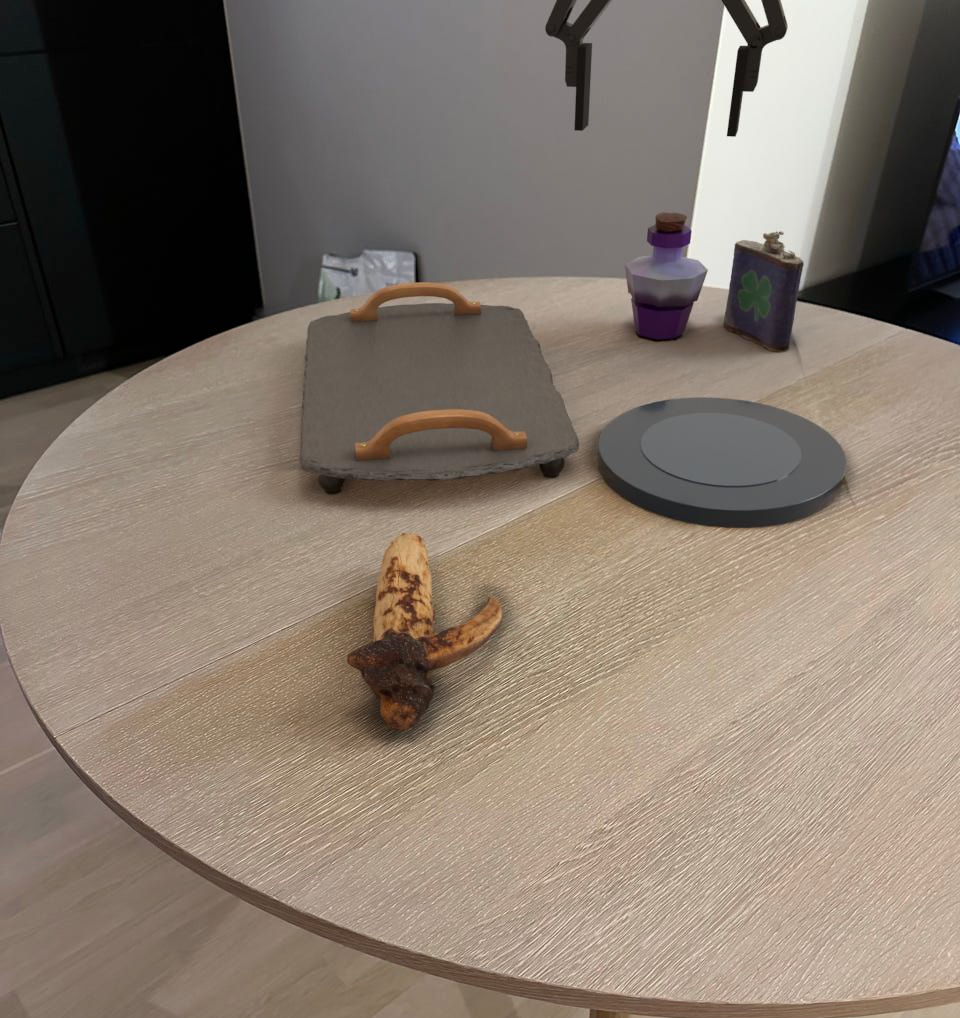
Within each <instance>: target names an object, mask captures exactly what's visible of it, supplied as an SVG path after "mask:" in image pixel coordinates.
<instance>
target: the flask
mask: <svg viewBox="0 0 960 1018" xmlns="http://www.w3.org/2000/svg"><path fill="white" fill-rule="evenodd" d="M784 234H785V232H784V231H781V230H780V231H775V232H769V233H765V232H764V233H762V238H763V239H764V240H765V241H764V243H762V242H761V243H760V242H758V241H754V240H747V239H742V240H738V241H736V242H735V243H734V248H733V259H732V266H731V272H730V281H729V284H728V285H729V287H728V294H727V300H726V306H725V312H724V317H723V326H724V328H725V329H726V330H728V331H729V332H731V333H735V334H738V336H740V337H742V338H743V339H746V340H751V341H754V343H756V344H759V345H760V346H761V347H764V348H766V349H767V350H769V351H773V352H779V353H783V352H787V351H788V350H790V345H791V344H790V343H791V338H792V332H793V331H792V330H793V325H794V322H795V313H796V307H797V301H798V297H799V290H800V285H801V281H802V280H801V279H802V274H803V268H804V264H805V263H804V260H803V259H802V257H799V256H797V255H796V253H795V252H794V251H792V250H788V251H786V250H785V247H786V245H785V244H784V242H781V241H779V239H780V236H782V235H783V236H784Z"/></svg>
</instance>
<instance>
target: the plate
mask: <svg viewBox="0 0 960 1018" xmlns="http://www.w3.org/2000/svg"><path fill="white" fill-rule="evenodd" d="M844 451H845V450H843V447H842V446H841V444H840V442H838V440H836V438H835V437H833V436H832V435H831V433H829V432H828V431H827V430H826V429H824V428H823V427H821V426H820V425H818V424H817V423H815V422H812V421H811V420H809V419H807V418H805V417H803V416H801V415H799V414H796V413H794V412H790V411H788V410H785V409H782V408H779V407H775V406H772V405H768V404H764V403H759V402H755V401H749V400H744V399H736V398H735V399H734V398H729V397H728V398H727V397H710V396H709V397H705V396H704V397H703V396H702V397H700V396H699V397H697V396H695V397H680V398H679V397H678V398H670V399H664V400H659V401H653V402H650V403H646V404H642V405H640V406H636V407H634V408H631V409H629V410H627V411H624V412H622V413H621V414H619V415H617V416H616V417H614V418H613V419H612V420H611V421H610V422H608V423H607V424H606V425H605V427H604V428H603V429H602V431H601V433H600V435H599V437H598V444H597V457H596V463H597V469H598V471H599V474H600V476H601V478H602V480H603V481H604V482H605V484H606V485H607V486H608V487H609V488H610V489H611V490H612V491H613V492H614V493H615V494H617V495H618V496H619V497H621V498H622V499H624V500H625V501H627V502H629V503H631V504H632V505H634V506H636V507H638V508H640V509H642V510H644V511H646V512H649V513H652V514H654V515H657V516H659V517H663V518H666V519H670V520H673V521H677V522H682V523H686V524H691V525H696V526H697V525H698V526H703V527H704V526H705V527H712V528H722V529H754V528H766V527H774V526H780V525H785V524H789V523H794V522H797V521H799V520H802V519H805V518H808V517H810V516H812V515H815V514H817V513H819V512H820V511H821V510H823V509H825V508H827V507H828V506H829V505H831V503H832V502H833V501H834V500H835V499H836V497H837V496H838V495H839V494H840V491H841V489H842V486H843V483H844V482H843V481H844V479H845V475H846V470H847V458H846V454H845V452H844Z"/></svg>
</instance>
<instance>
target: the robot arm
mask: <svg viewBox="0 0 960 1018" xmlns="http://www.w3.org/2000/svg"><path fill="white" fill-rule="evenodd" d="M760 1H761V4H762V7H763V11H764V15H765V18H766V22H767V24H766V25H764V26H761V25H760V23H759V22H758V20H757V19H756V16H755V14H754V13H753V11H752V10H751V8H750V6H749V5H748V3H747V1H746V0H721V2H722V4H723V6H724V7H725V9H726V11H727V13H728V14H729V16H730V17H731V19H732V21H733V22H734V24H735V25H736V27H737V29H738V31H739V33H740V34H741V35H742V38H743V39H744V41H745V42H746V44H747V45H739V47H738V49H737V53H736V60H735V66H734V67H735V68H734V76H733V85H732V92H731V98H730V99H731V100H730V106H729V107H730V108H729V116H728V124H727V131H726V137H730V138H731V137H733V138H735V137H736V136H737V134H738V131H739V125H740V118H741V111H742V104H743V103H742V102H743V95H744V92H746V93H747V92H748V93H750V92H751V93H754V91H755V90H756V87H757V86H758V83H759V76H760V68H761V62H762V55H763V49H764V48H765V47H766V46H767V45H769V44H771V43H773V42H776V41H780V40H782V39H784V38H785V36H786V34H787V32H788V29H789V28H788V21H787V18H786V14H785V11H784V8H783V3H782V0H760ZM577 2H578V1H577V0H556V1H555V3H554V6H553V8H552V10H551V13H550V15H549V17H548V19H547V21H546V24H545V29H544V30H545V33H546V35H547V36H548V37H551V38H552V37H553V38H555V39H558V40H560V41H561V42H563V44H564V46H565V65H564V67H565V70H564V82H565V85H566V87H567V88H575V102H574V104H575V107H574V131H576V132H582V131H584V130H585V129H586V128H587V127H588V126H589V122H590V121H589V120H590V99H591V97H590V96H591V79H592V56H593V55H592V54H593V43H592V42H584V39H585V37H586V36H587V34H588V33H589V32H590V31H591V29H592V28H593V27H594V25H595V24H596V23H597V21H598V20H599V19H600V17H602V15H603V13H604V12H605V11H606V9H607V8H608V7H609V5H610V4H611V3H612V2H613V0H590V1H589V2H588V3H587V4H586V6H585V7H584V9H583V10H582V12H581V13H580V14H579V16H578V17H577V18H576V20H574V22H573V24H572V23H570V22H568V21H569V18H570V16H571V14H572V11H573V9H574V7H575V6H576V3H577Z"/></svg>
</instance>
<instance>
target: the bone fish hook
mask: <svg viewBox="0 0 960 1018" xmlns="http://www.w3.org/2000/svg"><path fill="white" fill-rule="evenodd" d="M429 563H430V562H429V555H428V549H427V548H426V544H425V540H424V539H423V537H421V536H420V535H419V534H417V533H407V532H406V533H401V534H400V535H398V536H396V537H395V538H394V539H393V540H392V541H391V543H390V545H389V546H387V548H386V550H385V551H384V553H383V558H382V561H381V563H380V571H379V574H380V575H379V577H378V581H377V584H376V593H375V607H374V612H373V620H372V625H373V641H372V643H371V644H365V645H362V646H360V647H358V648H357V649H355V650H352V651H351V652H349V653H348V654H347V657H346V659H347V660H346V662H347V665H348V666H350V667H352V668H354V669H356V670H358V671H360V675H361V676H362V678H363V680H364V682H365V683H366V684H367V685H368V687H369V688H370V690H371V691H372V692H373V694H374V696H375V698H377V699H378V700H380V706H379V711H380V715H381V717H382V719H383V720H384V722H385V724H386V725H387V726H389V727H390V728H392V729H396V730H405V729H410V728H412V729H413V728H415V727H416V726H417V725H418V724H419V723H420V721H421V717H422V716H423V715H425V714H426V712H427V711H428V710H429V708H430V704H431V702H432V700H433V698H434V694H435V691H436V688H437V686H436V684H433V680H432V678H430V673H431V671H432V670H437V669H441V668H444V667H447V666H449V665H451V664H453V663H457V662H458V661H461V660H463V659H465V658H467V657H468V656H470V655H473V653H475V652H476V651H477V650H479V649H480V648H481V647H482V646H484V645H485V644H486V643H487V642H488V641H489V640H490V638H491V637H492V636H493V635H494V634H495V633H496V632H497V630H498V629H499V627H500V625H501V624H502V620H503V615H504V614H503V613H504V612H503V609H502V605H501V604H500V601H498V600H497V598H496V597H495V596H493V595H490V596H488V599H487V602H486V605H485V606H484V608H483V609H482V610H481V611H480V612H478V613H477V614H476V615H475V616H473V617H472V618H471V619H469V620H468V621H465V622H464V623H462V624H460V625H457V626H450V627H448V628H446V629H443V630H441V631H438V632H435V633H434V631H435V625H434V619H435V616H436V611H435V608H434V604H433V595H432V593H433V592H432V591H433V590H432V589H433V583H432V582H433V581H432V578H433V577H432V573H431V569H430V564H429Z"/></svg>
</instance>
